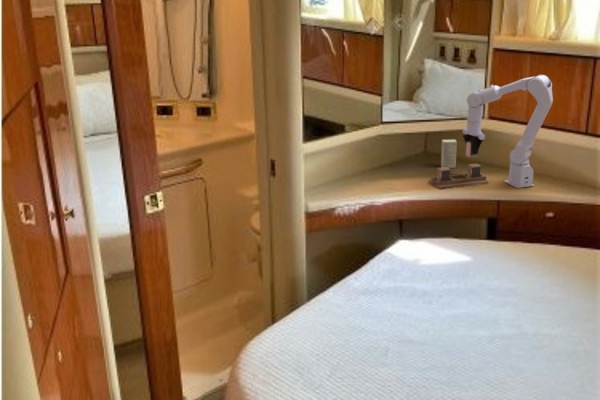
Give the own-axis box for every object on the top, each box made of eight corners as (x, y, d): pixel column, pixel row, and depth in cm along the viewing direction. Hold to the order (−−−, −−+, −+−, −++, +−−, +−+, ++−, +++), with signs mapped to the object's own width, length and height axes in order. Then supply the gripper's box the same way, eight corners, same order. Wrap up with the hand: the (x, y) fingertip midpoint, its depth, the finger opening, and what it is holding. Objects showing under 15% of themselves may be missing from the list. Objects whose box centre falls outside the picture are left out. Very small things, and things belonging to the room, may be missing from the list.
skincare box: (454, 165, 268) (455, 139, 264) (455, 167, 264) (457, 141, 260) (440, 165, 269) (441, 139, 265) (441, 167, 265) (443, 141, 260)
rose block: (478, 156, 248) (479, 142, 246) (469, 157, 247) (470, 143, 245) (474, 154, 251) (475, 140, 249) (465, 155, 250) (466, 141, 248)
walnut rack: (488, 183, 242) (489, 167, 239) (440, 189, 236) (441, 172, 234) (475, 176, 251) (476, 161, 248) (428, 182, 245) (429, 166, 243)
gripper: (457, 118, 249) (455, 149, 254) (475, 125, 236) (472, 157, 241) (471, 117, 251) (469, 147, 256) (490, 123, 238) (487, 156, 242)
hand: (472, 152), depth 248 cm, fingers closed on rose block, 3 cm apart
